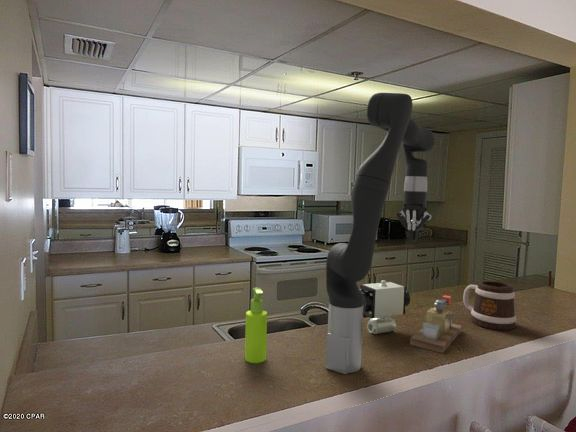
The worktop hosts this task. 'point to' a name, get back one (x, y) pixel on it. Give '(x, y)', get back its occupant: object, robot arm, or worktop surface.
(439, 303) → the lever
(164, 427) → the worktop surface
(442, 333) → the valve pipe
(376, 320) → the ball valve
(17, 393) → the worktop surface
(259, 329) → the soap dispenser
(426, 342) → the valve base
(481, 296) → the mug
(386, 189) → the robot arm
